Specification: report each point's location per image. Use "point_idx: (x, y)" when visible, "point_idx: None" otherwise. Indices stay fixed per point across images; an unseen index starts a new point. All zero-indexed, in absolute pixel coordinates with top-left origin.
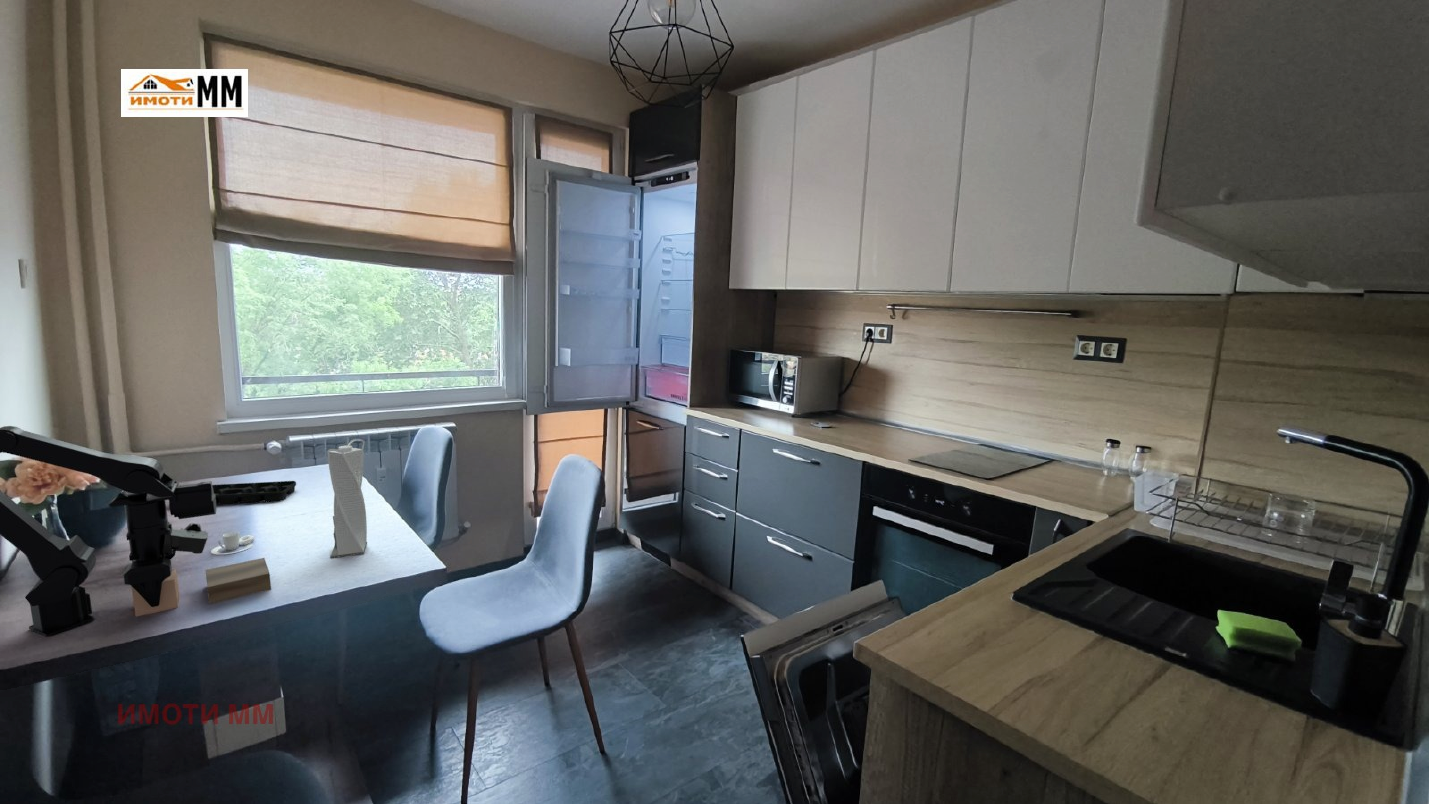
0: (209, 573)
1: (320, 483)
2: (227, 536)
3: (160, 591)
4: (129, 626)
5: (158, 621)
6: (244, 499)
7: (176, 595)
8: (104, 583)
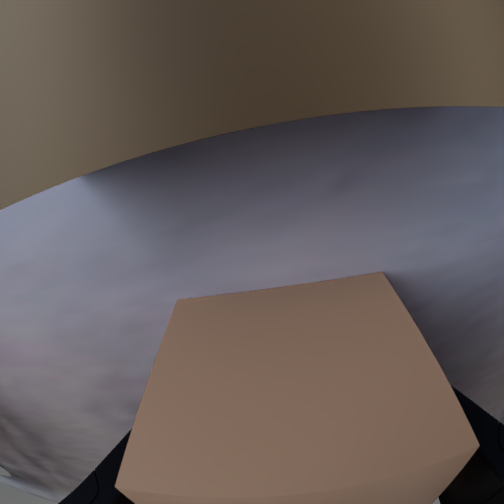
0: (72, 137)
1: None
2: None
3: (496, 421)
4: (451, 385)
5: (489, 309)
6: None
7: (403, 323)
8: (36, 453)
